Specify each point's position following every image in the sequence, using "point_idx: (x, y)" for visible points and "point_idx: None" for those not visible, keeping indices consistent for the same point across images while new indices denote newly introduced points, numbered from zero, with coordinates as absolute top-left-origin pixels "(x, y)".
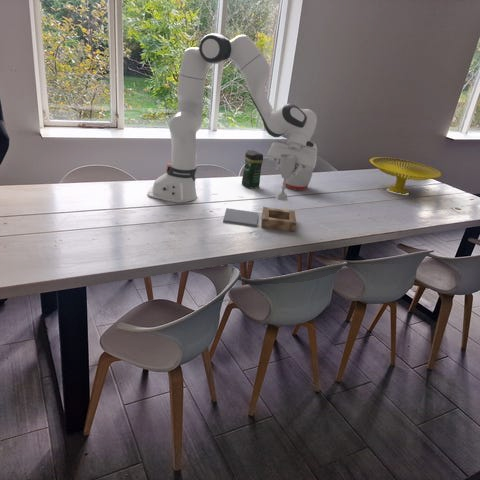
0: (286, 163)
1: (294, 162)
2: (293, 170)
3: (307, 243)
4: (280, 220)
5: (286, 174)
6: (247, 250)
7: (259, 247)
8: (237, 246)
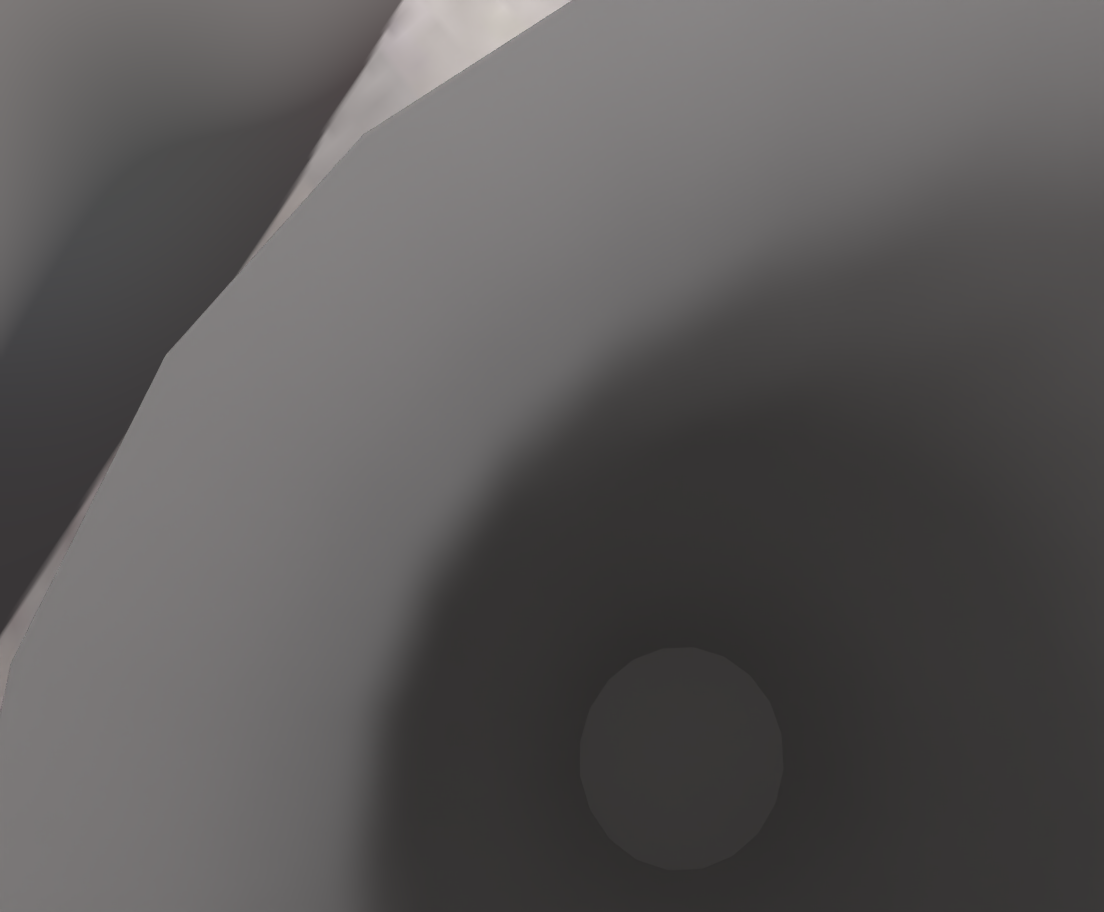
0: (669, 315)
1: (298, 755)
2: (413, 827)
3: (75, 525)
4: None
5: (585, 580)
6: (432, 7)
7: (392, 111)
8: (530, 4)
